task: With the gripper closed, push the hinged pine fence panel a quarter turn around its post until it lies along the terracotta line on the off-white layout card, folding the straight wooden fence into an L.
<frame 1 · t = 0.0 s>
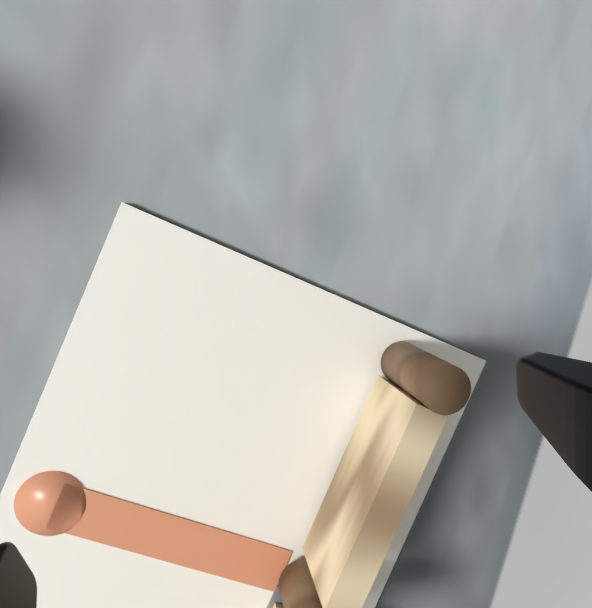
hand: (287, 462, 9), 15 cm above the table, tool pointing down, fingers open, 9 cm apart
fence fixed: (301, 576, 26), resting on layout card
layout card: (214, 525, 25), on the table
fence gate: (369, 503, 22), point 4 cm above the table, hinge at 0.0°
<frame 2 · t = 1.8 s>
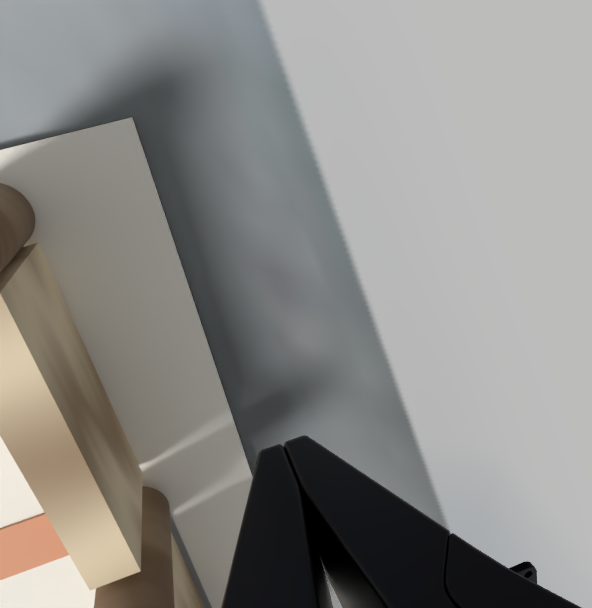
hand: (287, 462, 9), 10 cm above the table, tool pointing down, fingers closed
fence fixed: (137, 504, 20), resting on layout card
fence gate: (66, 437, 15), point 4 cm above the table, hinge at 0.0°
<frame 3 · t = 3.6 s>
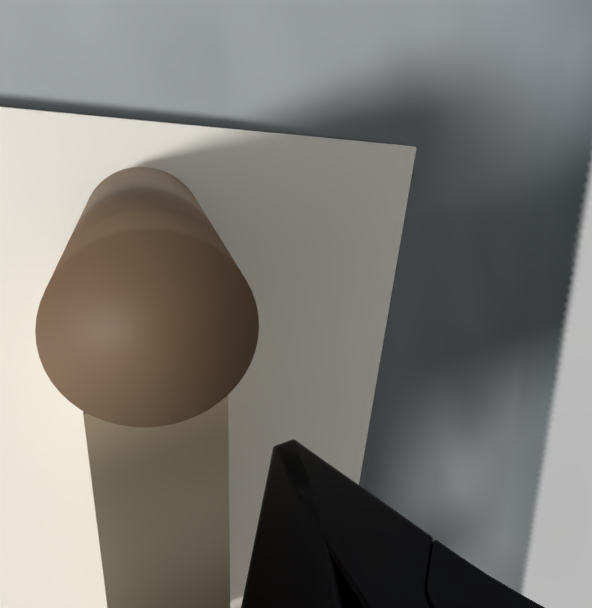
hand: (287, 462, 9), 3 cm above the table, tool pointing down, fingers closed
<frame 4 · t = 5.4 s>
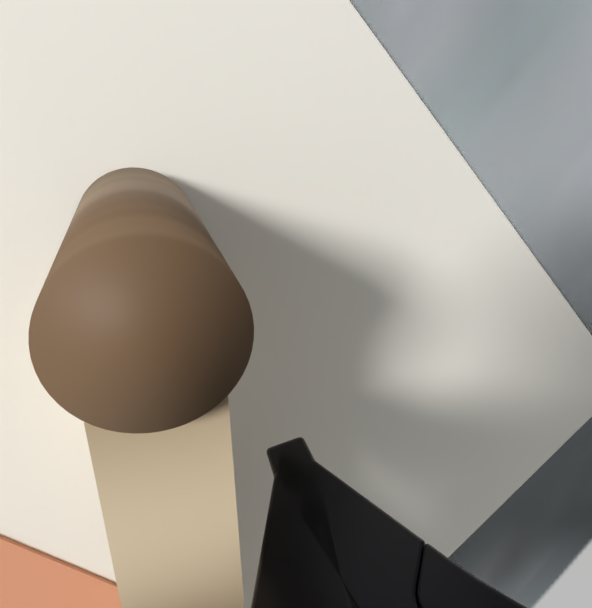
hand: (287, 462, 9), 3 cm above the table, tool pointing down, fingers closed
layout card: (58, 548, 12), on the table
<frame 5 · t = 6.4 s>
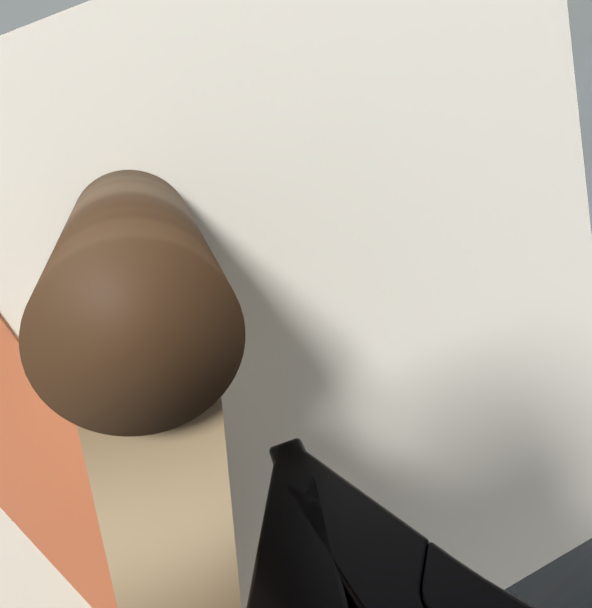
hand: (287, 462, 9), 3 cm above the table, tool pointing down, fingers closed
layout card: (142, 506, 12), on the table
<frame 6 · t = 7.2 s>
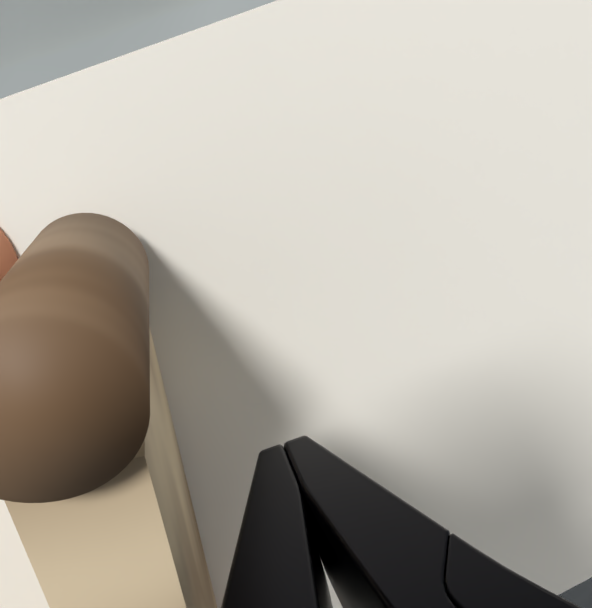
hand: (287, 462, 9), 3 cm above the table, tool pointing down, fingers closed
layout card: (161, 521, 13), on the table
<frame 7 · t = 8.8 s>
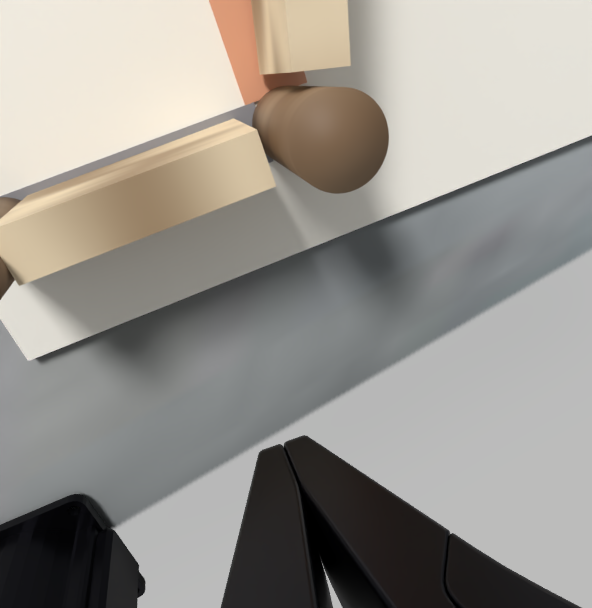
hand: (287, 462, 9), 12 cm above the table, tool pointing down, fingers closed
fence fixed: (285, 123, 18), resting on layout card
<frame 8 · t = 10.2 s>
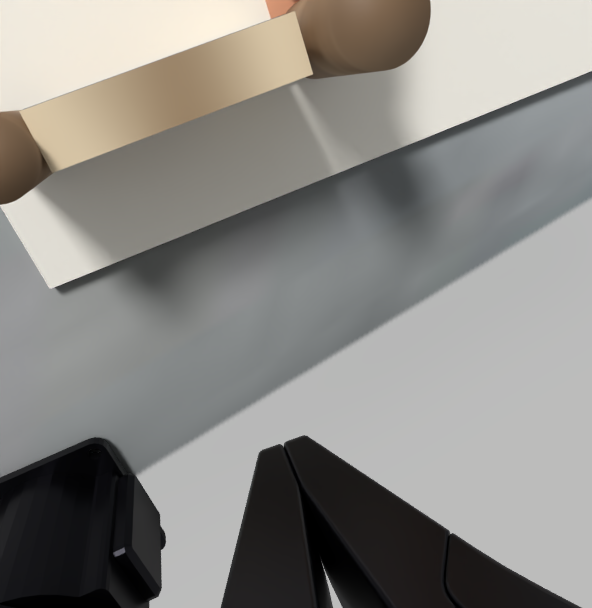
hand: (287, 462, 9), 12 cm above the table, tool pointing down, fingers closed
fence fixed: (311, 40, 17), resting on layout card
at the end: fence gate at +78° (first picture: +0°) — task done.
